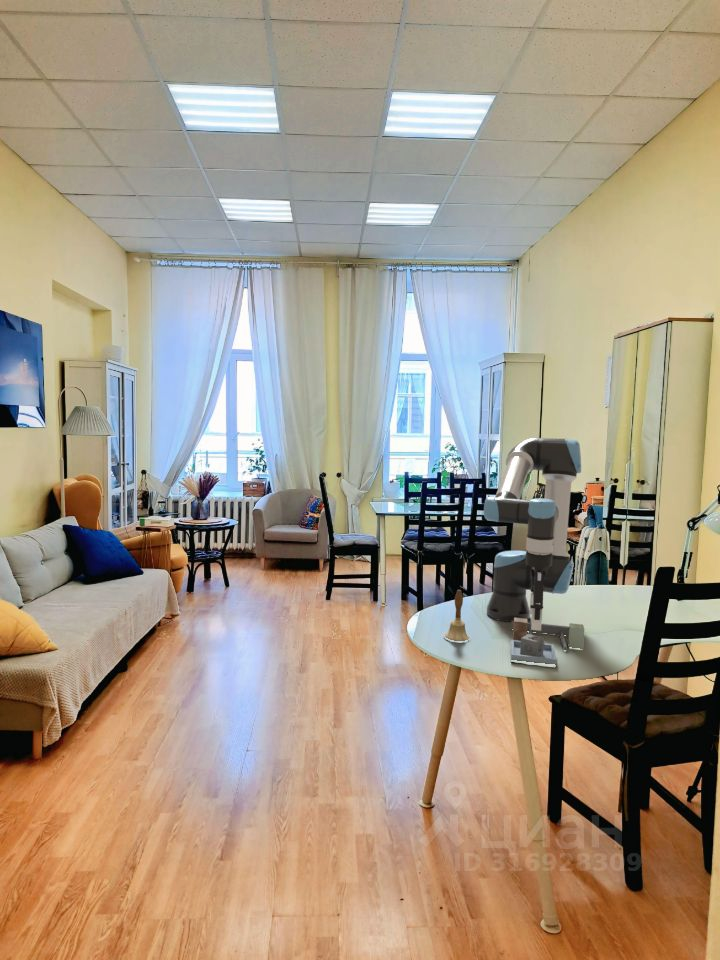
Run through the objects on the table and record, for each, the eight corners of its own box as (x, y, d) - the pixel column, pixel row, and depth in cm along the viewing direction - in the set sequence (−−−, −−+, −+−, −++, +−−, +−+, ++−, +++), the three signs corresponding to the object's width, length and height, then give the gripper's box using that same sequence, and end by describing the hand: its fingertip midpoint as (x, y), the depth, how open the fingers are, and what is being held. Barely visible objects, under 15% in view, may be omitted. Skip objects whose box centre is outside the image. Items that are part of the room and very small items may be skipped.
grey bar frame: (511, 645, 197) (512, 636, 197) (511, 629, 212) (511, 620, 212) (585, 654, 192) (586, 644, 192) (579, 636, 208) (580, 627, 207)
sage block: (569, 649, 196) (570, 627, 195) (568, 644, 200) (569, 623, 199) (582, 650, 195) (584, 628, 194) (581, 646, 199) (582, 624, 198)
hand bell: (472, 643, 198) (475, 593, 196) (446, 643, 197) (449, 593, 196) (466, 634, 206) (468, 586, 204) (441, 634, 205) (443, 586, 204)
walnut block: (513, 642, 200) (514, 621, 199) (512, 638, 204) (514, 617, 203) (526, 644, 199) (527, 622, 198) (525, 640, 203) (527, 618, 202)
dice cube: (520, 654, 187) (521, 637, 187) (527, 649, 191) (528, 633, 191) (535, 658, 184) (537, 642, 184) (543, 654, 188) (544, 638, 188)
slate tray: (510, 662, 183) (511, 654, 183) (510, 647, 195) (511, 639, 195) (556, 668, 180) (556, 659, 180) (552, 652, 193) (553, 644, 192)
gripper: (555, 563, 172) (551, 638, 174) (549, 543, 196) (545, 609, 199) (527, 561, 173) (522, 635, 176) (524, 541, 197) (521, 607, 200)
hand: (534, 621), depth 187 cm, fingers open, 13 cm apart
